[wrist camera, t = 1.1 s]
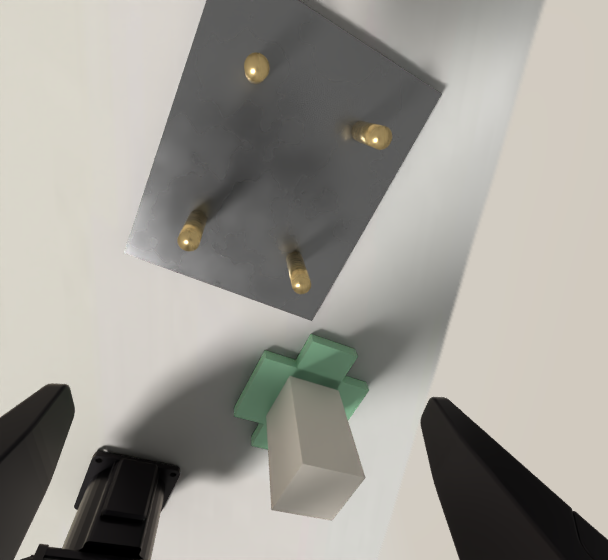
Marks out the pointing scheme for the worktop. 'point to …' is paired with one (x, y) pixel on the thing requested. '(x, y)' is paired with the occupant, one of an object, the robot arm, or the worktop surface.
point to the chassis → (275, 153)
